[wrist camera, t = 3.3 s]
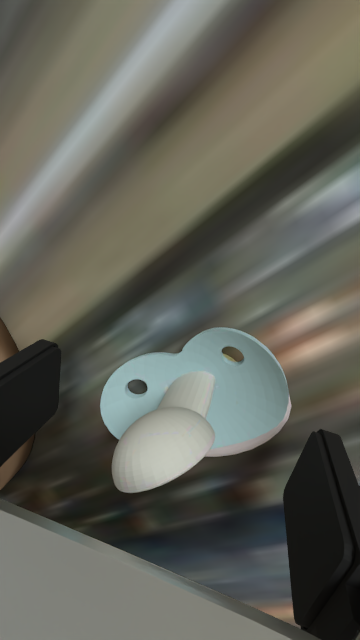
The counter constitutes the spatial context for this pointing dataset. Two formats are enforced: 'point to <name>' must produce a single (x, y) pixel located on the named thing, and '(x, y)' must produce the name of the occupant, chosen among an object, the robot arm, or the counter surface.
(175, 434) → the pacifier
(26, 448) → the walnut board
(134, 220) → the counter surface
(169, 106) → the counter surface
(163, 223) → the counter surface
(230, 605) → the robot arm
